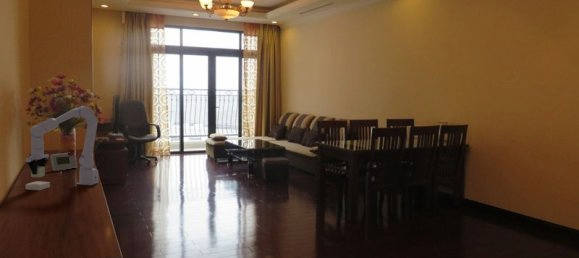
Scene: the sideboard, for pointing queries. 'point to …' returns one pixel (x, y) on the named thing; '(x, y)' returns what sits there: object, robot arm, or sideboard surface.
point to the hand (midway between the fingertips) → (37, 173)
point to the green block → (39, 172)
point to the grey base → (37, 185)
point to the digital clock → (62, 161)
